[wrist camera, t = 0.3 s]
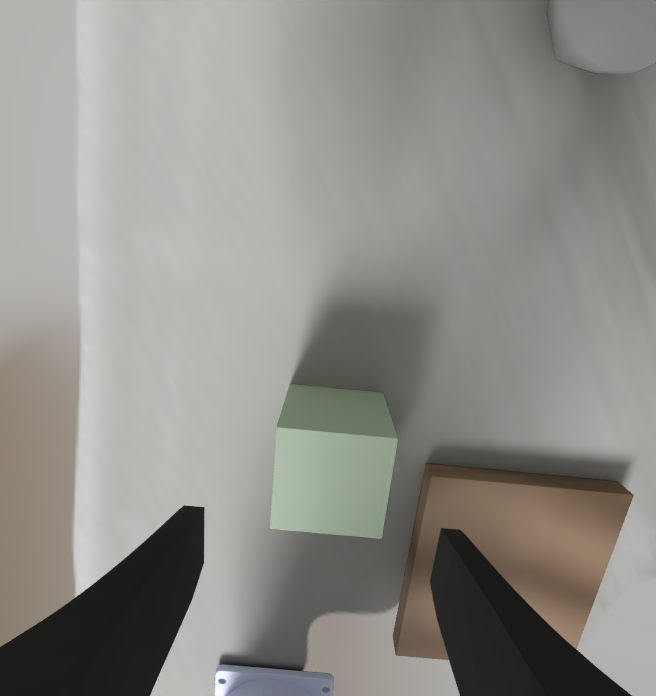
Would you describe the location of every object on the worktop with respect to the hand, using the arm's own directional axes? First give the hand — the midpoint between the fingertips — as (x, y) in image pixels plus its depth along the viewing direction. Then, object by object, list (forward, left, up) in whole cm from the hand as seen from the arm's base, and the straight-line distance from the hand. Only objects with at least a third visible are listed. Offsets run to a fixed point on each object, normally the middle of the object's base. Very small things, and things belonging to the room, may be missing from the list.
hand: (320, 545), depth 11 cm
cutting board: (-9, -12, -9) cm, 17 cm away
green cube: (-1, -1, -10) cm, 10 cm away
